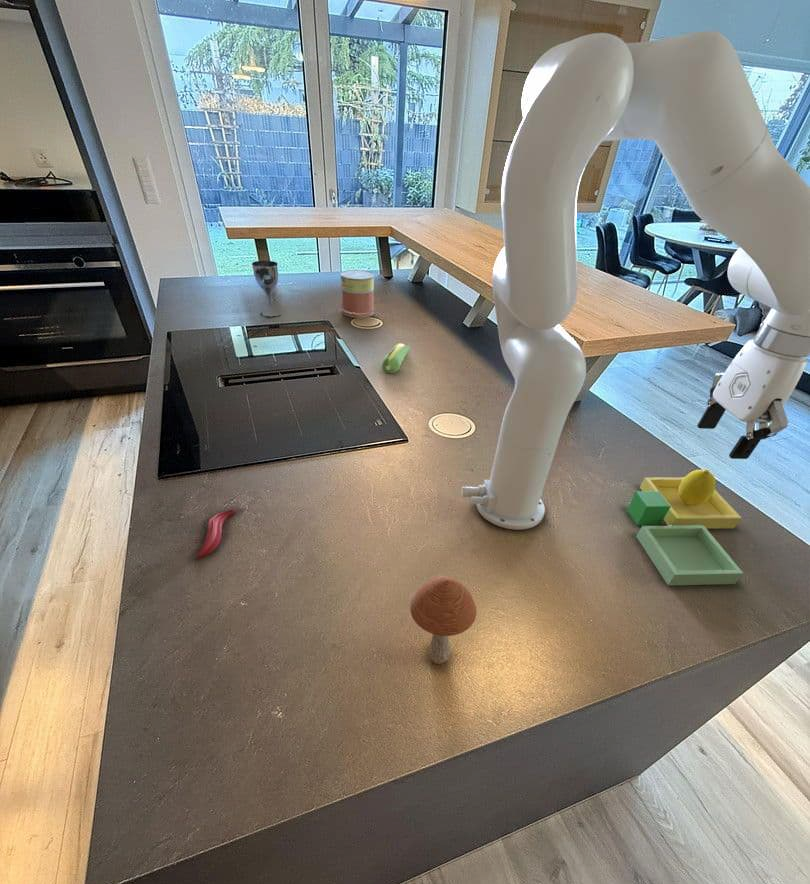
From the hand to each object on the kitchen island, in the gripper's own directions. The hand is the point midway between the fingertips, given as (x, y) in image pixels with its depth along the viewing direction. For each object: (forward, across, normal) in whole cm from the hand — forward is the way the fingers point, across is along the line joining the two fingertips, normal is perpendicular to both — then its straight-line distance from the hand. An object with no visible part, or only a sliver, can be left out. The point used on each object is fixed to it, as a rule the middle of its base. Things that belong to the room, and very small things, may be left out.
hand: (720, 442), depth 80 cm
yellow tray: (+14, 0, +1) cm, 15 cm away
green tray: (+15, +14, -7) cm, 21 cm away
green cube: (+15, +3, -9) cm, 17 cm away
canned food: (+16, -110, -62) cm, 127 cm away
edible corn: (+16, -66, -51) cm, 85 cm away
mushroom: (+16, +31, -52) cm, 63 cm away
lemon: (+14, 0, +1) cm, 14 cm away
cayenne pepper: (+17, +6, -86) cm, 88 cm away
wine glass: (+17, -106, -91) cm, 141 cm away
